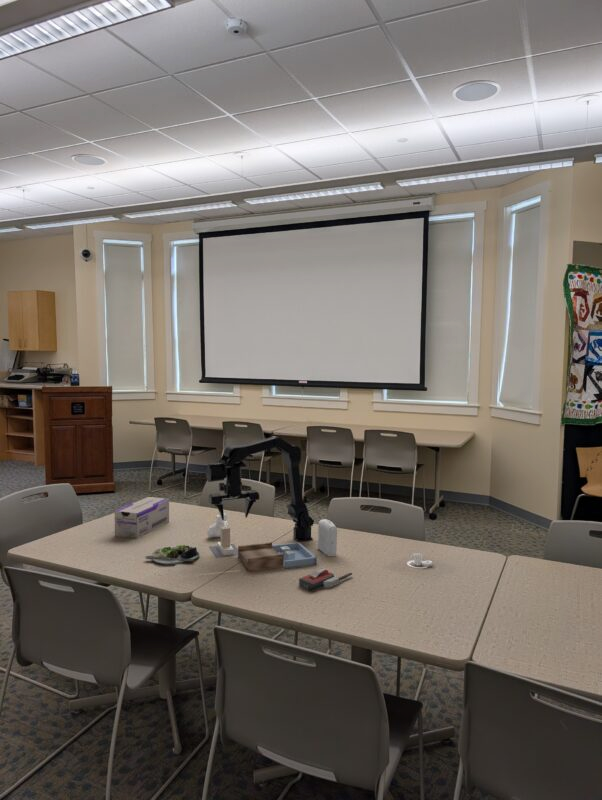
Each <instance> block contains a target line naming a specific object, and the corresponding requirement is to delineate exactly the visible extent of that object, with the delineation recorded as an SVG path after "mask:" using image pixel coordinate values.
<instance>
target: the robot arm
mask: <svg viewBox="0 0 602 800" xmlns="http://www.w3.org/2000/svg"><path fill="white" fill-rule="evenodd" d="M274 448H275V449H276V450H278V451H279V452H281V456H282V459H283V461H284V463H285V465H286V468H287V476H288V484H289V491H290V498H291V499H290V503H289V504H286V507H287V508H286V509H287V514H288V515H289V517H290V518H291V519H292V522H293V523H294V527H293V531H292V532H293V535H292V537H293V538H294V539H295V540H296V541H297V542H303V541H305V542H306V541H311V540H313V537H312V526H314V523H315V520H314V519H313V518H312V517H311V515H310V513H309V510H308V506H307V505H306V503H305V501H304V499H303V491H302V490H303V489H302V481H301V480H302V479H301V474H300V471H301V470H300V464H301V461H302V450H301V448H300V447H299V446H298V445H293V444H291V443H289V442H287V441H286V440H284V439H282V437H278V436H275V435H273V436H270V437H267V438H264V439H261V440H257V441H253V442H250V443H246V444H236V445H235V444H234V445H233V444H232V445H227V446H226V447H225V449H224V451H223V454H222V456H221V457H220V458H219V461H218V462H217V463H208V464H207V468H206V471H205V477H206V481H207V482H208V483H213V482H218V492H217V493H210V494H209V495H208V502H209V503H210V504H211V505H214V506H215V507H216V508H217V509H218V514H219V513H220V515H221V518H222V520H224V513H225V512H224V504H223V503H222V502H223V501H229V500H230V501H231V500H239V499H244V500H245V507H244V515H245V518H246V519H247V518H248V516H249V513H250V510H251V509H252V506H253V504H254V503H256V502H257V501H259V500H260V493H259V492H258V491H257V490H256V489H247V490H245V492H242V486H243V482H242V468H245V467H247V464H246V463H244V461H243V460H246V459H247V458H248V457H249V456H252V455H254V454H259V453H261V452H264V451H268V450H272V449H274ZM221 481H225V482H221ZM219 492H223V495H222V494H220V493H219Z"/></svg>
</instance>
